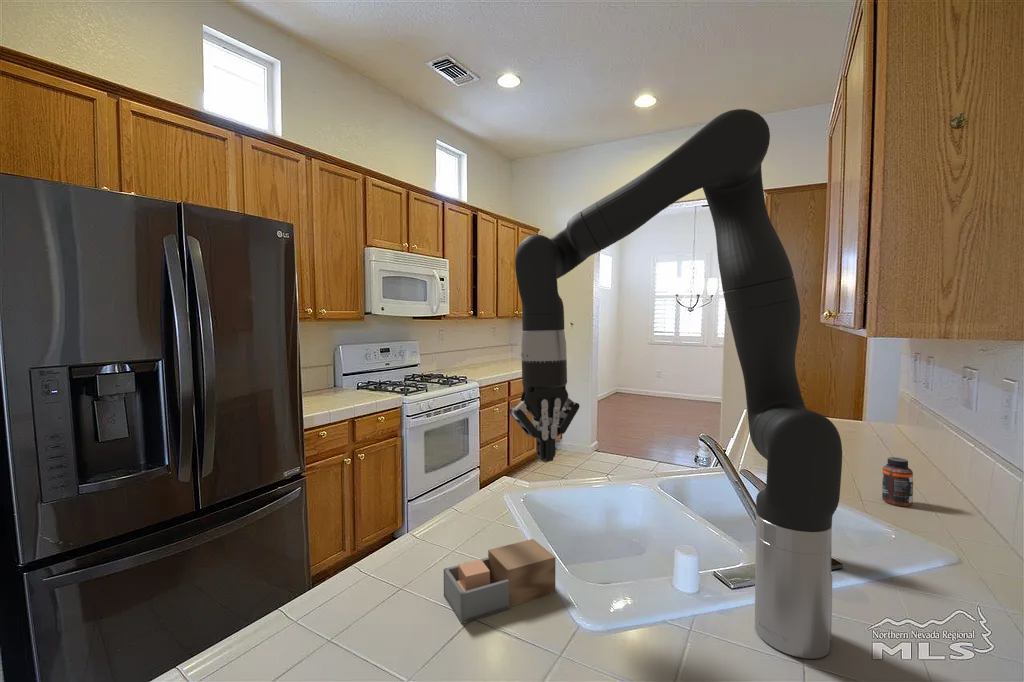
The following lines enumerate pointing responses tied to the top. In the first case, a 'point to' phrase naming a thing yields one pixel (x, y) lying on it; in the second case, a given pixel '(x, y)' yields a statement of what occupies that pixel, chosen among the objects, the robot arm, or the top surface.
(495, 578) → the brown block
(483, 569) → the tile
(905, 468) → the supplement bottle
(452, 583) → the tray
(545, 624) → the top surface
